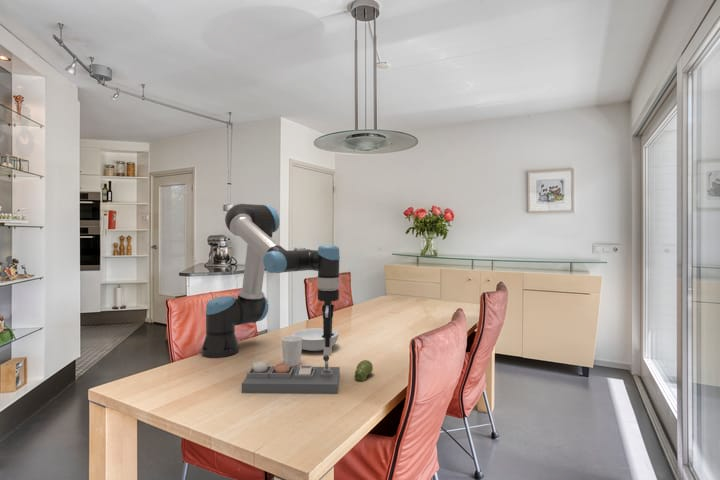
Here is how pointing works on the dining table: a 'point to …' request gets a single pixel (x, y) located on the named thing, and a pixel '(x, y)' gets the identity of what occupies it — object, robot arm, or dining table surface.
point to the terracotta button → (282, 368)
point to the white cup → (292, 350)
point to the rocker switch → (305, 370)
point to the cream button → (260, 366)
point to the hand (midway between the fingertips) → (327, 354)
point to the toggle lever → (326, 364)
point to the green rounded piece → (363, 370)
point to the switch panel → (292, 381)
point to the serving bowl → (314, 338)
